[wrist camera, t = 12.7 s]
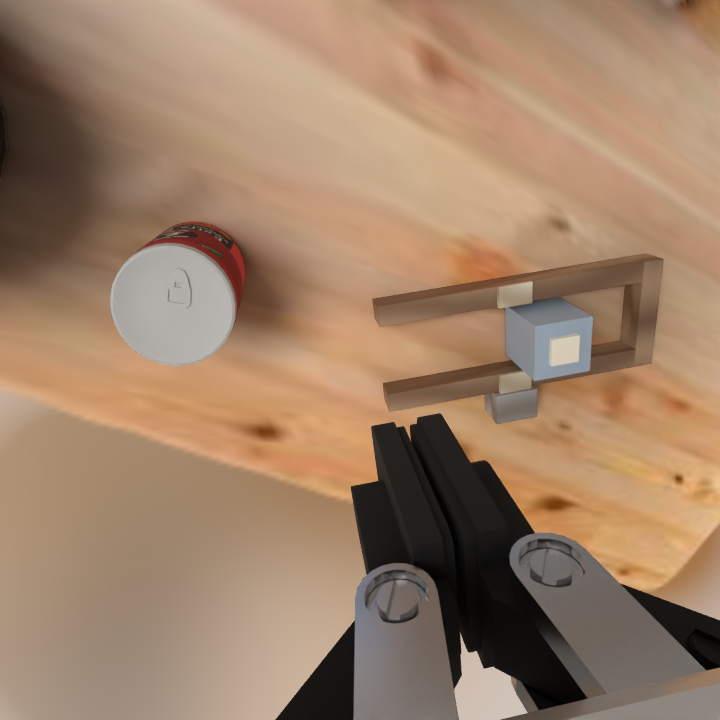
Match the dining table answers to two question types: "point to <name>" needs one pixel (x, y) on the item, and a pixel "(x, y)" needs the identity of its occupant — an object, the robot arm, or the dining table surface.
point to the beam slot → (505, 379)
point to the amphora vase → (3, 140)
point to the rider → (549, 338)
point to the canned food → (179, 294)
